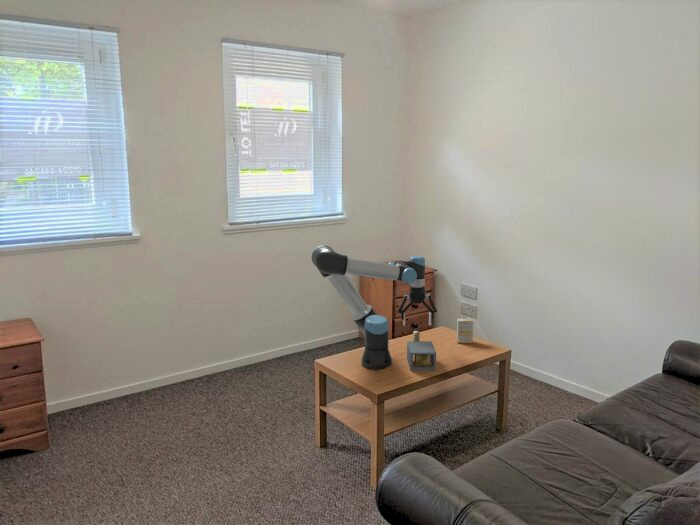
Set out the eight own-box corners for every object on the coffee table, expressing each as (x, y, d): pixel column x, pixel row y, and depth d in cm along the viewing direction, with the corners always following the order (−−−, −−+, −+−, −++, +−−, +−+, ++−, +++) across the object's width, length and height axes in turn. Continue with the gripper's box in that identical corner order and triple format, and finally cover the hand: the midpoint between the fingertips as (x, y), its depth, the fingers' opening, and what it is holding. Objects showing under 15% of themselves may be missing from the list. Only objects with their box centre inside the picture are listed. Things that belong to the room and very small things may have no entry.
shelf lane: (410, 370, 266) (410, 352, 264) (406, 358, 281) (407, 341, 279) (436, 370, 266) (436, 352, 264) (431, 357, 281) (431, 341, 279)
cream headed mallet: (415, 367, 269) (416, 347, 267) (410, 348, 294) (410, 331, 292) (428, 367, 269) (428, 347, 267) (421, 348, 294) (421, 330, 292)
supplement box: (471, 340, 306) (472, 318, 303) (472, 343, 301) (473, 320, 298) (456, 340, 307) (457, 317, 304) (457, 343, 302) (458, 320, 299)
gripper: (393, 288, 282) (394, 327, 286) (442, 287, 282) (442, 326, 286) (392, 284, 289) (392, 323, 293) (440, 283, 289) (439, 322, 293)
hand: (417, 325), depth 290 cm, fingers open, 13 cm apart
